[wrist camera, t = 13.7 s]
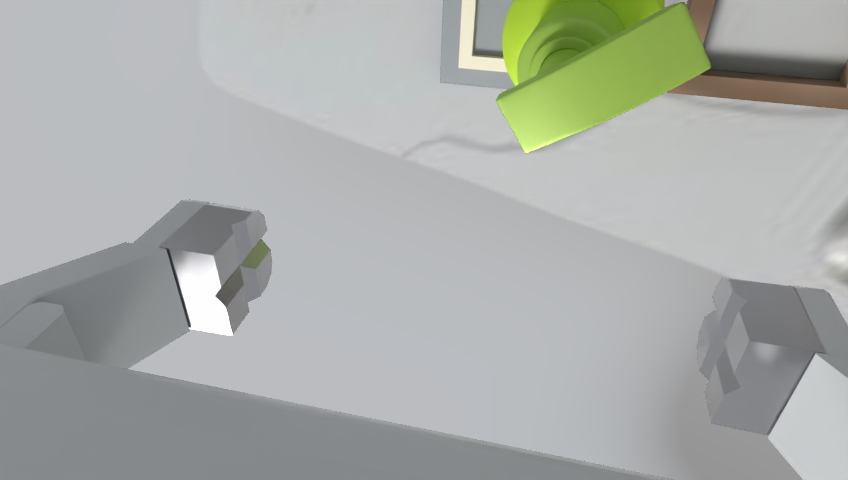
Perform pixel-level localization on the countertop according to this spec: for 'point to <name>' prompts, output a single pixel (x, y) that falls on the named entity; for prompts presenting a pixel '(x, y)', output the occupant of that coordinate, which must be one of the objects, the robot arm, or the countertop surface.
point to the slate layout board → (474, 43)
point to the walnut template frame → (760, 78)
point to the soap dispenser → (591, 62)
